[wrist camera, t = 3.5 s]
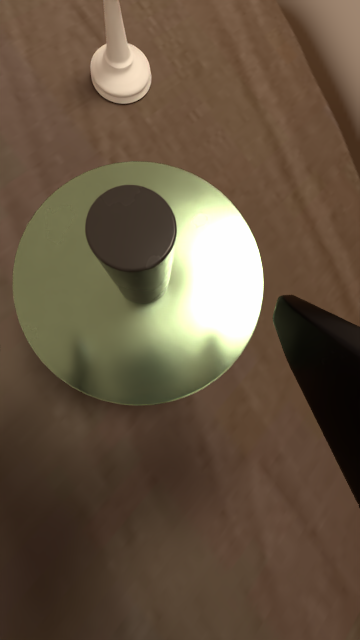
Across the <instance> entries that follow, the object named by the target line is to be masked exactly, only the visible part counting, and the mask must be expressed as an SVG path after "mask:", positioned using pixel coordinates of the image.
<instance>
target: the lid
mask: <svg viewBox="0 0 360 640" xmlns="http://www.w3.org/2000/svg"><path fill="white" fill-rule="evenodd" d="M263 291H264V277H263V266H262V261H261V256H260V252H259V249H258V246H257V243H256V240H255V238H254V236H253V234H252V232H251V230H250V228H249V225H248V224H247V222H246V221H245V219H244V218H243V216H242V215H241V213H240V212H239V211H238V209H237V208H236V207H235V206H234V205H233V203H232V202H231V201H230V200H229V199H228V198H227V197H226V196H225V195H224V194H222V193H221V192H220V191H219V190H218V189H217V188H215V187H214V186H212V185H211V184H210V183H208V182H207V181H205V180H203V179H202V178H200V177H198V176H196V175H194V174H192V173H190V172H187V171H185V170H182V169H180V168H177V167H173V166H169V165H166V164H161V163H154V162H139V161H131V162H121V163H114V164H110V165H105V166H101V167H98V168H96V169H93V170H90V171H87V172H85V173H83V174H81V175H79V176H77V177H75V178H73V179H72V180H70V181H69V182H67V183H66V184H64V185H63V186H61V187H60V188H58V189H57V190H56V191H55V192H54V193H53V194H52V195H51V196H50V197H48V198H47V199H46V200H45V202H44V203H43V204H42V205H41V206H40V207H39V209H38V210H37V211H36V212H35V214H34V216H33V217H32V219H31V220H30V222H29V223H28V225H27V227H26V229H25V231H24V233H23V235H22V237H21V240H20V243H19V246H18V249H17V252H16V256H15V262H14V268H13V296H14V305H15V309H16V312H17V316H18V320H19V323H20V325H21V328H22V330H23V332H24V335H25V337H26V339H27V340H28V342H29V344H30V345H31V347H32V349H33V350H34V352H35V353H36V354H37V356H38V357H39V358H40V359H41V361H42V362H43V363H44V364H45V366H47V367H48V368H49V369H50V370H51V371H52V372H53V373H54V374H55V375H56V376H57V377H58V378H60V379H61V380H63V381H64V382H66V383H67V384H68V385H70V386H71V387H73V388H75V389H77V390H79V391H81V392H82V393H84V394H86V395H89V396H91V397H94V398H97V399H100V400H103V401H106V402H111V403H116V404H121V405H134V406H143V405H157V404H162V403H167V402H172V401H175V400H178V399H181V398H184V397H187V396H189V395H191V394H193V393H195V392H197V391H199V390H202V389H203V388H205V387H206V386H208V385H209V384H211V383H212V382H214V381H215V380H217V379H218V378H219V377H220V376H221V375H222V374H224V373H225V372H226V371H227V370H228V369H229V368H230V367H231V366H232V365H233V364H234V362H235V361H236V360H237V359H238V358H239V357H240V355H241V354H242V352H243V351H244V349H245V348H246V346H247V345H248V343H249V341H250V339H251V337H252V335H253V333H254V331H255V328H256V325H257V322H258V319H259V316H260V312H261V307H262V302H263Z"/></svg>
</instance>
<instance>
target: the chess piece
mask: <svg viewBox="0 0 360 640" xmlns="http://www.w3.org/2000/svg"><path fill="white" fill-rule="evenodd" d="M103 4H104V14H105V28H106V44H105V45H103V46H102V47H100V48H99V49H98V50H97V51H96V52H95V54H94V55H93V57H92V60H91V65H90V69H91V78H92V82H93V85H94V87H95V89H96V90H97V91H98V93H99V94H100V95H101V96H103V97H104V98H106V99H107V100H109V101H112V102H115V103H120V104H127V103H132V102H135V101H137V100H139V99H141V98H142V97H143V96H144V95H145V94H146V93H147V92H148V90H149V88H150V85H151V72H150V66H149V62H148V60H147V58H146V56H145V55H144V54H143V53H142V52H141V51H140V50H139V49H138V48H137V47H135V46H133V45H131V44H128V43H127V39H126V34H125V29H124V25H123V20H122V15H121V9H120V4H119V0H103Z"/></svg>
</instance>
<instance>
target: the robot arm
mask: <svg viewBox="0 0 360 640" xmlns="http://www.w3.org/2000/svg"><path fill="white" fill-rule="evenodd" d="M273 322H274V325H275V328H276V331H277V334H278V337H279V339H280V342H281V345H282V348H283V351H284V353H285V356H286V359H287V361H288V363H289V365H290V368H291V370H292V372H293V374H294V376H295V378H296V380H297V382H298V384H299V386H300V388H301V390H302V392H303V394H304V396H305V398H306V400H307V402H308V404H309V406H310V408H311V410H312V412H313V414H314V416H315V418H316V420H317V422H318V424H319V426H320V428H321V430H322V432H323V434H324V436H325V438H326V440H327V442H328V444H329V446H330V448H331V450H332V452H333V455H334V457H335V459H336V461H337V463H338V465H339V467H340V469H341V471H342V473H343V475H344V477H345V479H346V481H347V483H348V485H349V487H350V489H351V491H352V493H353V495H354V497H355V499H356V501H357V503H358V504H359V508H360V327H359V326H357V325H354V324H352V323H350V322H348V321H346V320H344V319H342V318H340V317H338V316H336V315H334V314H332V313H329V312H327V311H325V310H323V309H321V308H319V307H317V306H315V305H313V304H311V303H309V302H307V301H304V300H302V299H300V298H298V297H296V296H294V295H283V296H280V297H279V298H278V300H277V303H276V307H275V310H274V314H273Z"/></svg>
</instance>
